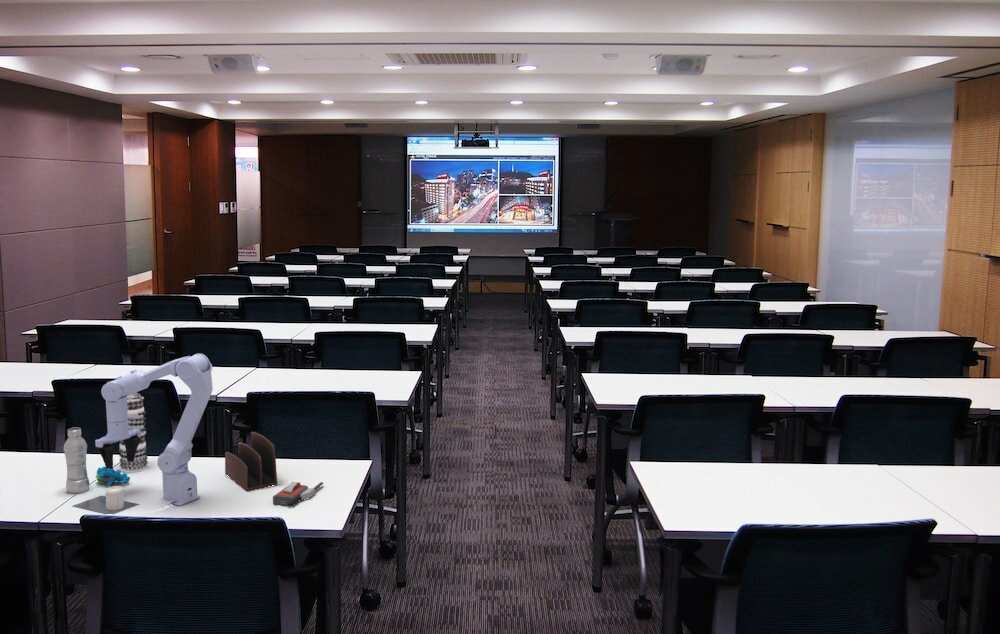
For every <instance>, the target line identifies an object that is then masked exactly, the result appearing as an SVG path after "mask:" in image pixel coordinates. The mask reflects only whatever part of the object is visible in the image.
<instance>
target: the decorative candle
mask: <svg viewBox="0 0 1000 634" xmlns="http://www.w3.org/2000/svg"><path fill="white" fill-rule="evenodd" d="M144 399H145V397H144V396H142V395H141V394H140V393H138V392H136V393H133V394H131V395H128V397H127V410H128V427H129V430H133V429H140V430H141V436H138V437H140V438H141V442H140V443H139V445H138V447H137V450H136V454H135V458H134V462H129V461H127V457H126V448H125V444H124V441H123V440H121V441H119V449H118V451H119V456H118V457H120V458H119V467H120V468H119V470H121V473H122V472H123V473H128V472H130V473H138V471H139V472H142V471H141V470H143V471H145V470H147V469H148V468H149V466H148V464H149V463H148V462H149V461H148V459H149V458H148V456H147V454H148V451H147V450H148V447H147V446H146V445H147V442H146V437H145V435H146V434H147V428H146V427H145V425H147V422H146V420H147V417H146V416H145V415H146V414H147V411H146V410H145V407H144ZM147 467H148V468H147ZM146 468H147V469H146ZM144 469H145V470H144Z"/></svg>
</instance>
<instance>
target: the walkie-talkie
mask: <svg viewBox="0 0 1000 634" xmlns="http://www.w3.org/2000/svg"><path fill="white" fill-rule="evenodd" d="M322 485H324V482H323V481H321V482H319V483H318V484H317V485H316V486H314V487H313V488H310V487H308V486H307V485H303V484H301V482H299V481H297V482H296V481H292V482H291V483H289V484H288V485H287V486H286V487H284V488H283V489H281V490H280V491H278V492H277V493H276V494H274V495H273V496H272V505H273V504H274V505H273V506H277V505H281V506H280V507H288V506H291V507H294V506H295V505H296V504H295V503H297V502H298V501H299V500H303V499H307V498H309V499H310V497H311V496H312V495H314V494H315V495H316V491H317V490H318V489H319V488H321V486H322ZM315 495H314V496H315ZM312 497H313V496H312ZM312 497H311V498H312ZM307 500H308V499H307ZM303 501H304V500H303ZM299 502H300V501H299ZM299 502H298V503H299ZM294 504H295V505H294ZM293 505H294V506H293Z"/></svg>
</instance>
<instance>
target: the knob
mask: <svg viewBox="0 0 1000 634" xmlns="http://www.w3.org/2000/svg"><path fill="white" fill-rule="evenodd" d="M124 495H125V494H124V487H123V486H122V485H113V486H110V487H108V488H106V487H105V497H106V509H108V510H118V509H121V508H123V507H124V501H125V499H124Z"/></svg>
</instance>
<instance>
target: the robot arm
mask: <svg viewBox="0 0 1000 634" xmlns="http://www.w3.org/2000/svg"><path fill="white" fill-rule="evenodd" d="M212 370H213V365H212V363H211V362H210V359H209V358H208V357H207V355H205V354H203V353H195V354H193V355H192V356H191V355H188V356H183V357H180V358H176V359H173V360H170V361H168V362H166V363H163V364H161V365H159V366H157V367H155V368H152V369H150V370H148V371H144V370H143V369H138V370H137V369H132V370H130V371H129V372H130V373H128V374H126V375H123V376H122V375H119V376H117V377H116V379H114V380H111V381H107V382H106V383H105V384H103V385H102V388H101V391H100V393H101V396H102V398H103V400H105V410H106V412H105V413H106V426H107V433H106V435H105V436H103V437H100V438H99V439H95V449H96V450H97V451H98V453H99V454H100V456H101V458H102V460H103V461H102V462H103V463H104V467H106V468H108V469H114V453H115V448H116V447H115V446H112V444H113V443H114V444H115V443H117V442H120V441H121V440H123V441H124V444H125V448H126V457H127V461H129V462H134V458H135V454H136V450H137V447H138V445H139V443H140V442H141V438H140V437H138V436H141V430H140V429H133V430H129V427H128V410H127V397H128V395H131V394H133V393H138V392H140V391H143V390H145V389H147V388H149V386H150V384H151V382H153V381H156V380H159V379H161V378H164V377H168V376H169V375H171V376H173V377H175V378H176V377H178V378H179V379H180V380H181V381H182V382H183V383H184V384H185V385H186V387H188V388H189V390H190V391H191V393H190V396H189V399H188V401H187V403H186V405H185V408H184V410H183V412H182V415H181V418H180V420H179V423H178V424H177V427H176V430H175V432H174V434H173V436H172V439H171V440H170V442H169V443H168V444H167V445H166V447H165V448H164V451H163V452H162V453H161V454H159V455H158V458H157V462H156V463H157V466H158V469H159V470H160V471H161V475H162V493H163V495H162V496H163V499H164V500H167V501H172V502H170V504H171V505H175V506H182V505H186V504H188V503H190V502H192V501H194V500H197V499H200V498H201V497H200V495H198V480H197V476H196V475H195V474H194V473H193V472H191V471H190V470H189V462H190V461H191V459H192V448H193V446H194V444H193V443H192V440H193V438H194V436H195V434H196V431H197V429H198V427H199V424H200V422H201V419H202V416H203V414H204V412H205V409H206V408H207V405H208V402H209V401H210V398H211V396H212V392H213V390H214V389H213V388H214V387H213V381H212V379H213V378H212Z"/></svg>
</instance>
